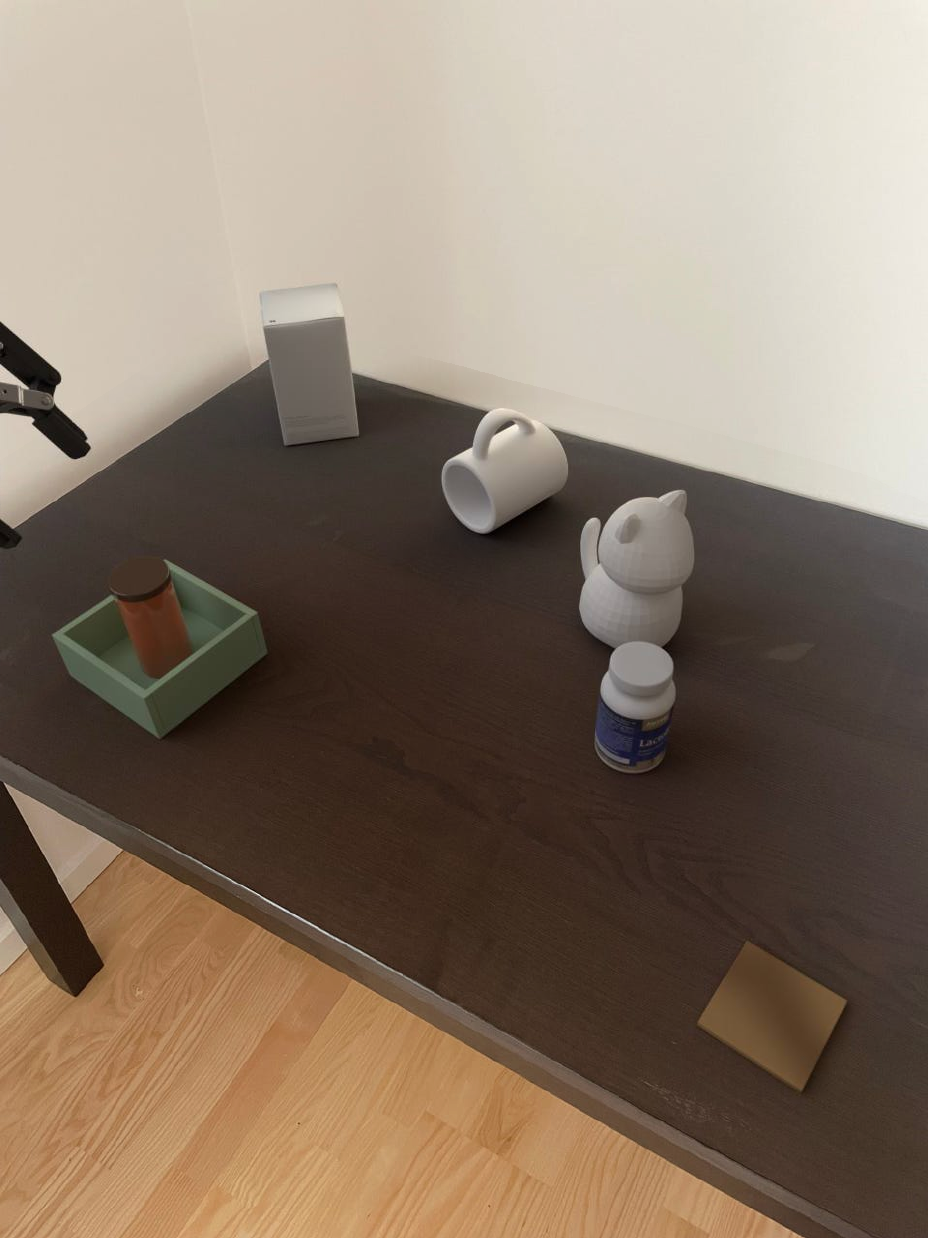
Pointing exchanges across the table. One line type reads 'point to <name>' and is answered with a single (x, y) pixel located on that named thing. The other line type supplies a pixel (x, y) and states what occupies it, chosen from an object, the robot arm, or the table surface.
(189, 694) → the crate
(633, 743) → the pill bottle
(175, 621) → the spice jar
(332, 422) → the rectangular carton
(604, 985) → the table surface
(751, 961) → the coaster
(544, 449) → the mug
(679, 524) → the cat figurine
